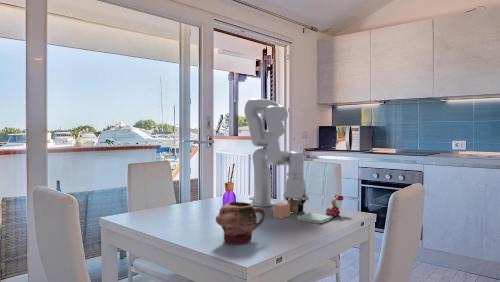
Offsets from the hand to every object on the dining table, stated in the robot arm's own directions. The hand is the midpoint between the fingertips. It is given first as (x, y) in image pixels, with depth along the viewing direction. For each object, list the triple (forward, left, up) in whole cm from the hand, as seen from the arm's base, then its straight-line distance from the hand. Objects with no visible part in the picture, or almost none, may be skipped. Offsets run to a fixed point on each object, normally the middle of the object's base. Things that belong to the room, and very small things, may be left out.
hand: (295, 211), depth 191 cm
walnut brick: (0, 0, -1) cm, 1 cm away
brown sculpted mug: (+11, -57, -1) cm, 58 cm away
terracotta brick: (0, -13, -1) cm, 13 cm away
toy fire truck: (+20, +4, -1) cm, 20 cm away
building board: (+16, -9, -1) cm, 18 cm away
